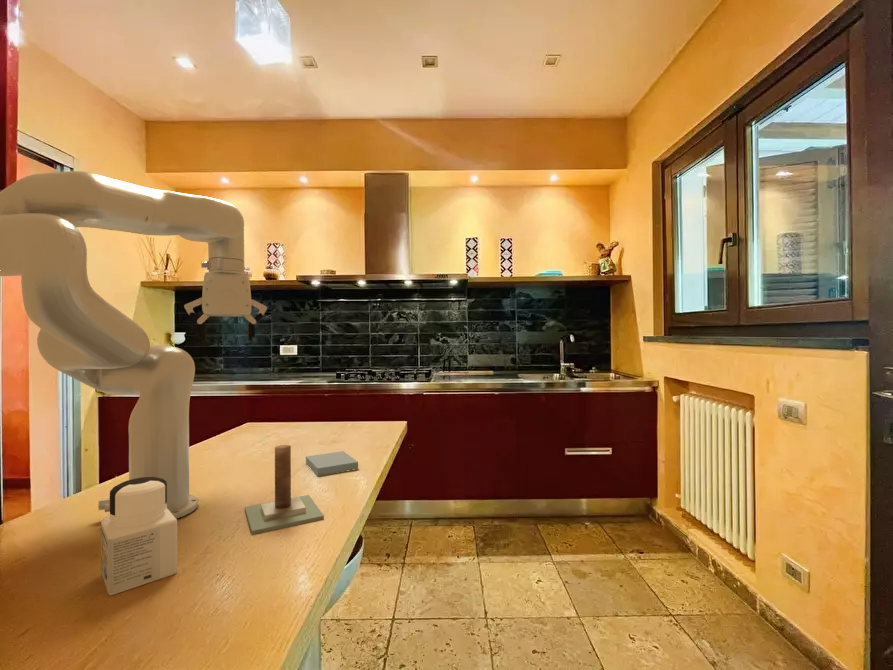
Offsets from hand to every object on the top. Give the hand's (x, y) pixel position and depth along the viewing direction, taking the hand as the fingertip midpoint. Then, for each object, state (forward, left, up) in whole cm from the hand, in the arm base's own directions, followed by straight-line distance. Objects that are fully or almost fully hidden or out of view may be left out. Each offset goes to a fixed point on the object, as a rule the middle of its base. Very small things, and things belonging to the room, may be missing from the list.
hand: (227, 341), depth 101 cm
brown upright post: (+7, -28, -32) cm, 43 cm away
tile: (+18, -3, -31) cm, 37 cm away
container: (-13, -39, -33) cm, 53 cm away
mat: (+8, -28, -32) cm, 44 cm away
